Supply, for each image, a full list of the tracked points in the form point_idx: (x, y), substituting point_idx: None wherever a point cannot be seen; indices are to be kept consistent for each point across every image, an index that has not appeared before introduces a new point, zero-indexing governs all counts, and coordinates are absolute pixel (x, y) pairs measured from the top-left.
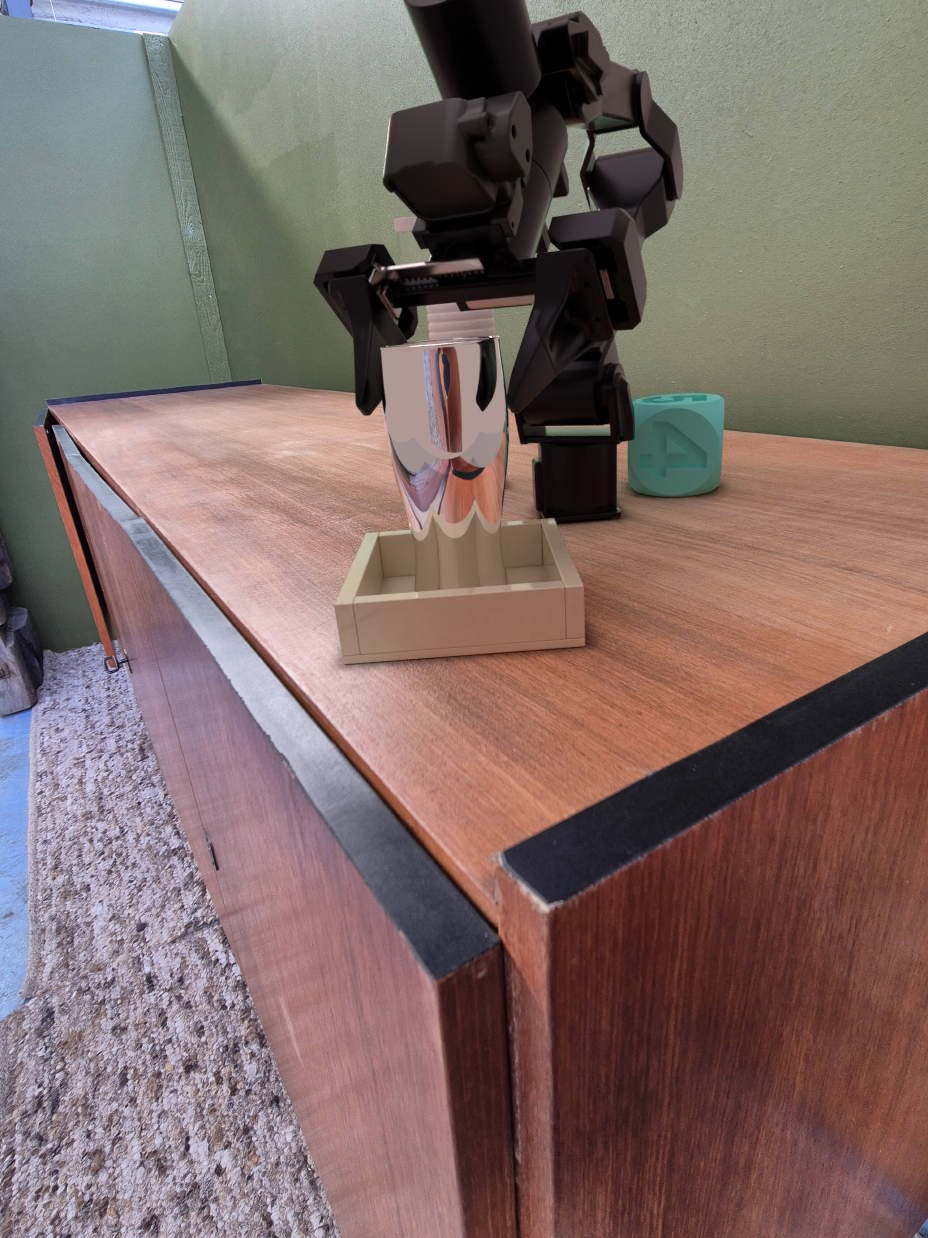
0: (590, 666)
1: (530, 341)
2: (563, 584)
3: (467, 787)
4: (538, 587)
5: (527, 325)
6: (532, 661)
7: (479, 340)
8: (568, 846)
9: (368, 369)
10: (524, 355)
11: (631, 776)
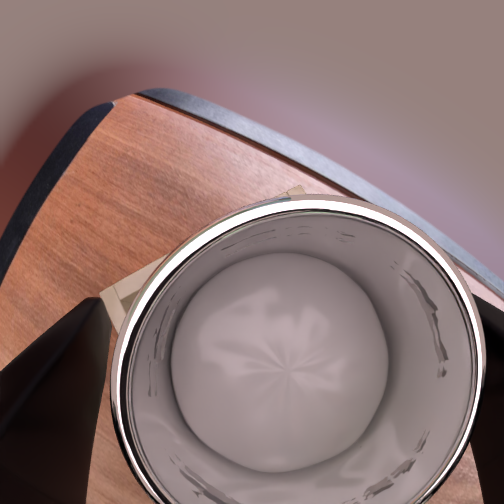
0: (108, 268)
1: (17, 376)
2: (116, 291)
3: (139, 128)
4: (134, 276)
5: (11, 414)
6: (149, 262)
7: (121, 332)
8: (91, 119)
9: (483, 324)
10: (40, 354)
11: (71, 167)
